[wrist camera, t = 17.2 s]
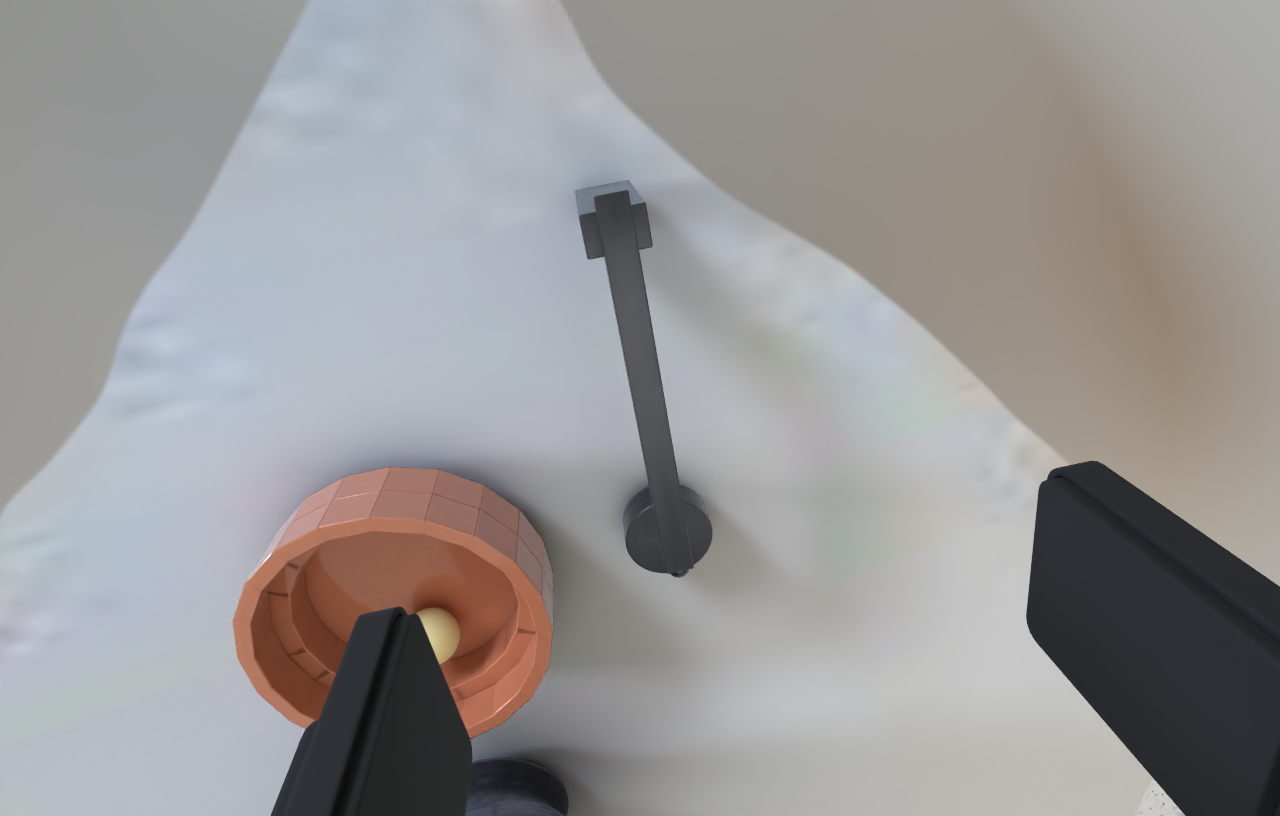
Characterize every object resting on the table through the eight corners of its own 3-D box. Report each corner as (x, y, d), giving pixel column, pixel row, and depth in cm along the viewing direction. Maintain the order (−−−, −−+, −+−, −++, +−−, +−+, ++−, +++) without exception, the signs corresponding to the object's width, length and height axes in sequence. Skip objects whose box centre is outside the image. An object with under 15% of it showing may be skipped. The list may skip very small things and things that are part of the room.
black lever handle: (545, 178, 29) (542, 206, 23) (650, 158, 30) (678, 180, 23) (630, 560, 38) (646, 663, 32) (710, 543, 39) (743, 642, 32)
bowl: (226, 494, 34) (176, 556, 30) (515, 435, 34) (509, 487, 30) (333, 700, 40) (305, 776, 36) (576, 648, 41) (579, 717, 36)
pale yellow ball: (451, 592, 37) (471, 621, 39) (398, 601, 37) (420, 631, 39) (442, 643, 34) (464, 672, 36) (386, 653, 35) (411, 681, 37)
